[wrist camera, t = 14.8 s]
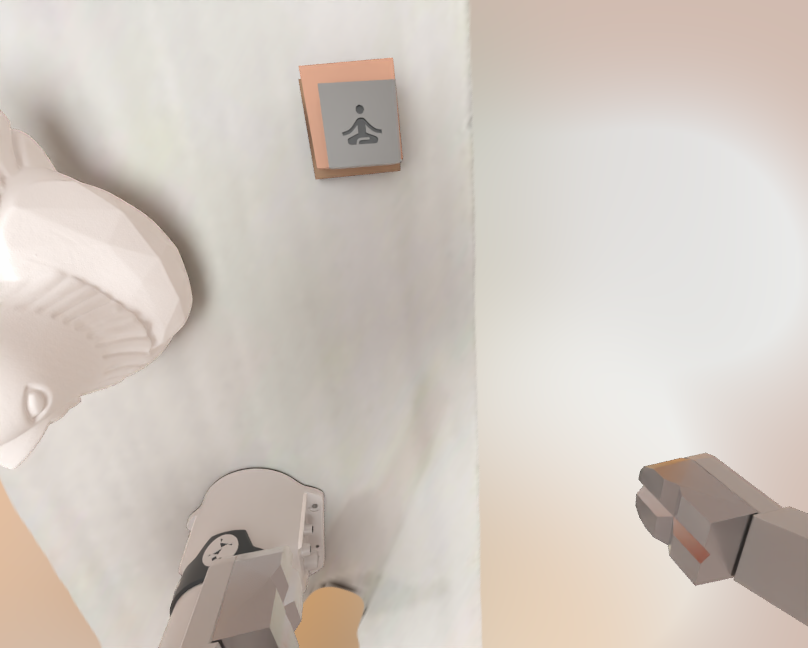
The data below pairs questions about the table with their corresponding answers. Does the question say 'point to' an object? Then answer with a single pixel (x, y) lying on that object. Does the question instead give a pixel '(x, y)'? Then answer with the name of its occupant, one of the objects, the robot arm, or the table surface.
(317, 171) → the walnut base block
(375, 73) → the terracotta top block
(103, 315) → the decorative rooster
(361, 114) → the dice cube
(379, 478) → the table surface
